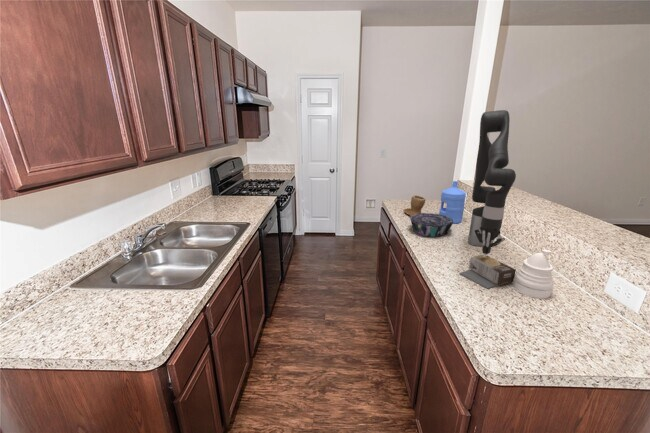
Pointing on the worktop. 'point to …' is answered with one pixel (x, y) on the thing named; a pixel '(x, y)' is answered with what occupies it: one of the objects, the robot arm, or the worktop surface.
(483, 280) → the rubber mat
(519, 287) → the honey pot
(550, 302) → the worktop surface
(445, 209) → the water jug
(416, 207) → the brown boot
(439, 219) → the decorative bowl
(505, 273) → the coffee box
